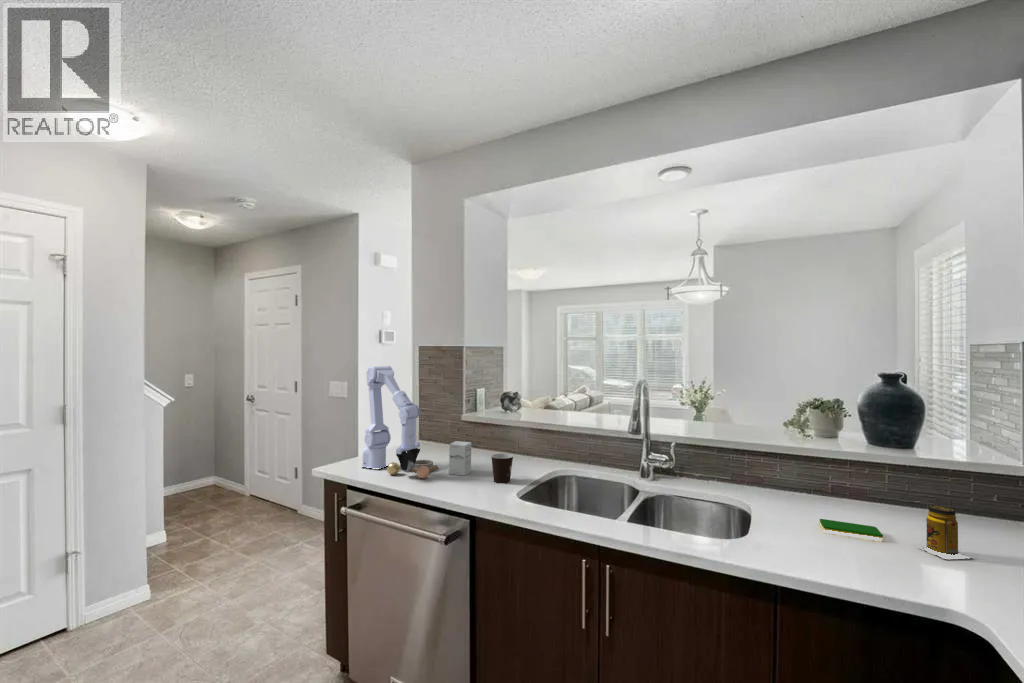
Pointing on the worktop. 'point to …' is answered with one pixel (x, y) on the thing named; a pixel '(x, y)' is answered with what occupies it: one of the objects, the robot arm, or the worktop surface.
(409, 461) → the steel ball
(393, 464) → the brass ball
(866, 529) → the dish sponge
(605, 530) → the worktop surface
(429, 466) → the race board
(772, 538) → the worktop surface
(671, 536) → the worktop surface
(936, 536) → the condiment
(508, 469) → the coffee mug
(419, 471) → the terracotta ball
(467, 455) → the supplement box
